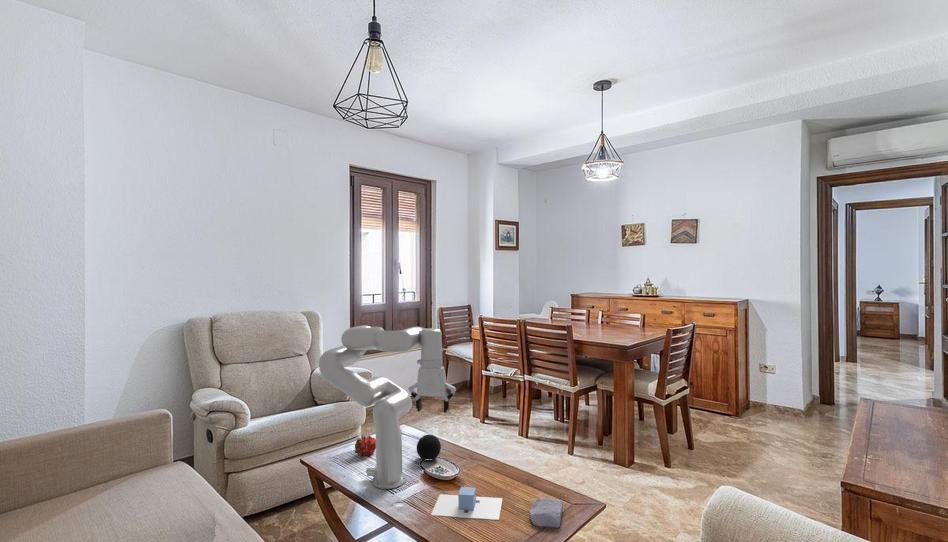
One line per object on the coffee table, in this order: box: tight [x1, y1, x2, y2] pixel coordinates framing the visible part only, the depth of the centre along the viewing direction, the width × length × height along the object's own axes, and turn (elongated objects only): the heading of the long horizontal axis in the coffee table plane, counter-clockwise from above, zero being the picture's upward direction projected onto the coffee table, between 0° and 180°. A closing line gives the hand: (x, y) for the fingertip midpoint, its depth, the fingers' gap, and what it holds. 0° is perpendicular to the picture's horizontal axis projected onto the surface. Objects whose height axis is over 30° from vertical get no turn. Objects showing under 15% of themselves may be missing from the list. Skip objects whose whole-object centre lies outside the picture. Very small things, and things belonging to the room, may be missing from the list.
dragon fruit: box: [354, 435, 376, 458], centre depth 192 cm, size 8×8×12 cm
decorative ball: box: [416, 434, 442, 461], centre depth 186 cm, size 10×10×10 cm
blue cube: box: [457, 486, 477, 511], centre depth 149 cm, size 5×5×5 cm
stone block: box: [529, 497, 564, 529], centre depth 143 cm, size 12×5×10 cm
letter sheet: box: [430, 493, 503, 521], centre depth 149 cm, size 22×13×1 cm, turn 81°
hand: (432, 410), depth 161 cm, fingers open, 9 cm apart
